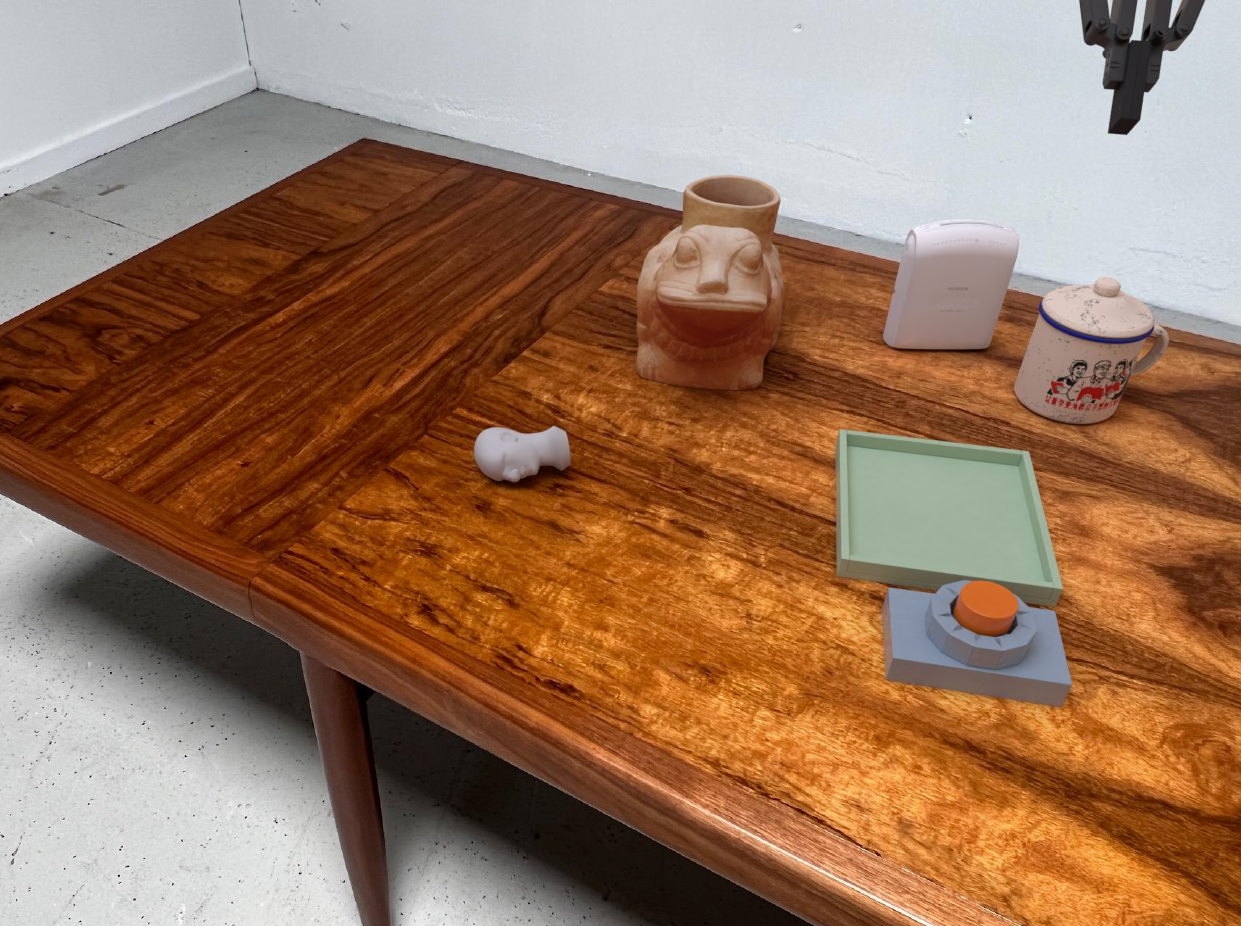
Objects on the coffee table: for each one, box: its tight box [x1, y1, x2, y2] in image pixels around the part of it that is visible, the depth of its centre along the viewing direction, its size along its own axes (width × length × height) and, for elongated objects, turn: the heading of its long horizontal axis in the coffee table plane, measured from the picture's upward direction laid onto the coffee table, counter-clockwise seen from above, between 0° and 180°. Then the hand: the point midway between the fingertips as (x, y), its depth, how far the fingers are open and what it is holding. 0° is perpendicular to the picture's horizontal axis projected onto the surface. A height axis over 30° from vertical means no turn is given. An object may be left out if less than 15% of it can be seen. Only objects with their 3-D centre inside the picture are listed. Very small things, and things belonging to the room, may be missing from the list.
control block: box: [881, 580, 1073, 708], centre depth 72 cm, size 11×7×4 cm, turn 77°
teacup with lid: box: [1013, 276, 1170, 425], centre depth 94 cm, size 12×9×12 cm
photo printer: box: [882, 218, 1020, 350], centre depth 101 cm, size 10×4×12 cm, turn 88°
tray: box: [834, 428, 1064, 608], centre depth 84 cm, size 15×17×2 cm
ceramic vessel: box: [635, 174, 785, 391], centre depth 101 cm, size 14×26×15 cm, turn 167°
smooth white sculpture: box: [473, 425, 572, 483], centre depth 88 cm, size 4×8×5 cm
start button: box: [954, 581, 1019, 637], centre depth 70 cm, size 4×4×2 cm
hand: (1123, 126), depth 87 cm, fingers closed
